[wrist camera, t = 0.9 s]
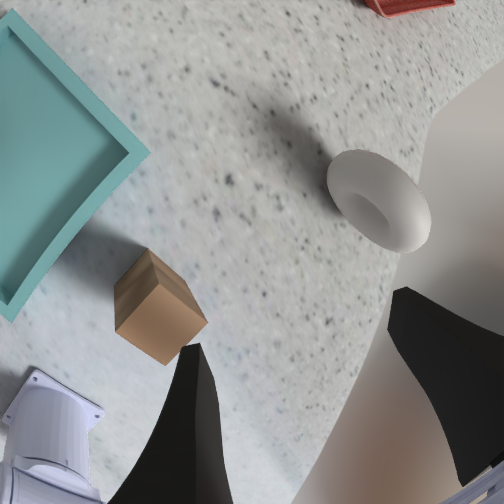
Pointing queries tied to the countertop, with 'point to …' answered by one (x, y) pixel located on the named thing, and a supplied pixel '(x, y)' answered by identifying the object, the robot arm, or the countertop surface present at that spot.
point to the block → (156, 309)
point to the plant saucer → (405, 6)
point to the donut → (379, 200)
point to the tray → (49, 159)
